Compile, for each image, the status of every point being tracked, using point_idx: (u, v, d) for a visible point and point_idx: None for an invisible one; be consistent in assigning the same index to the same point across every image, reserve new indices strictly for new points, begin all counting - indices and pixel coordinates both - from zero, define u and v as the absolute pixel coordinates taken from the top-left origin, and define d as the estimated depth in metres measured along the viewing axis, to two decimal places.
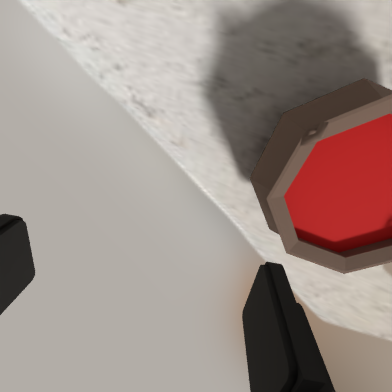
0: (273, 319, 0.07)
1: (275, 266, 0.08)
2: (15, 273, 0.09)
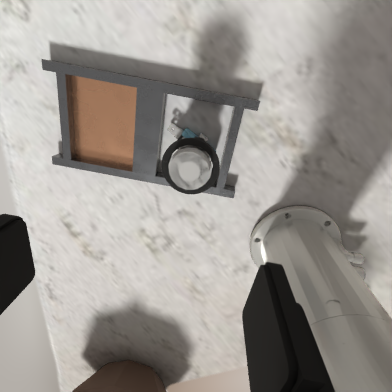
0: (273, 319, 0.07)
1: (275, 266, 0.08)
2: (15, 273, 0.09)
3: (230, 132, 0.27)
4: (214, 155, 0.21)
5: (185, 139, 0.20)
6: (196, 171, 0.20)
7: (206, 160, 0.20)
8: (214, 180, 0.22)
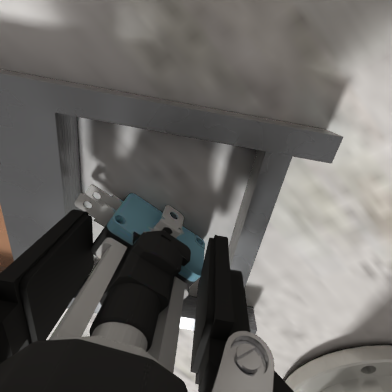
0: (207, 279, 0.08)
1: (220, 238, 0.09)
2: (83, 263, 0.10)
3: (250, 216, 0.10)
4: None
5: None
6: None
7: None
8: None
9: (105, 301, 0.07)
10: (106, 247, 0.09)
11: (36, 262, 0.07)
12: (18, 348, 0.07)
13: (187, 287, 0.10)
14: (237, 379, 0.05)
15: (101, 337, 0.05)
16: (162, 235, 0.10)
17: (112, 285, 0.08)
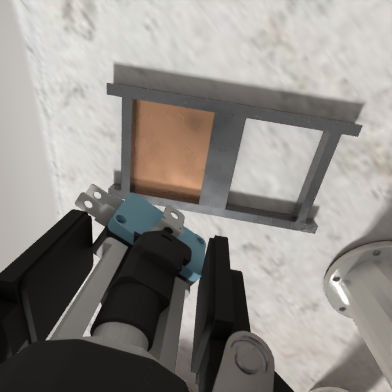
0: (207, 279, 0.08)
1: (220, 238, 0.09)
2: (82, 263, 0.10)
3: (321, 161, 0.23)
4: None
5: None
6: None
7: None
8: None
9: (106, 301, 0.07)
10: (107, 247, 0.09)
11: (36, 262, 0.07)
12: (18, 348, 0.07)
13: (188, 287, 0.10)
14: (237, 379, 0.05)
15: (102, 337, 0.05)
16: (163, 235, 0.10)
17: (113, 285, 0.08)
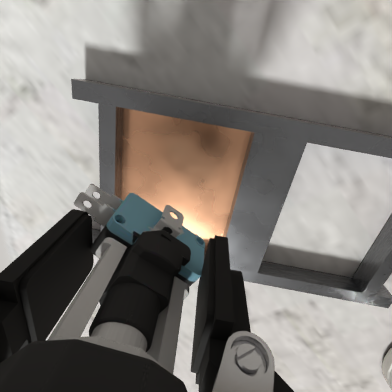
0: (207, 279, 0.08)
1: (220, 238, 0.09)
2: (82, 263, 0.10)
3: None
4: None
5: None
6: None
7: None
8: None
9: (104, 301, 0.07)
10: (106, 247, 0.09)
11: (36, 262, 0.07)
12: (18, 348, 0.07)
13: (187, 287, 0.10)
14: (237, 379, 0.05)
15: (100, 337, 0.05)
16: (162, 235, 0.10)
17: (112, 285, 0.08)
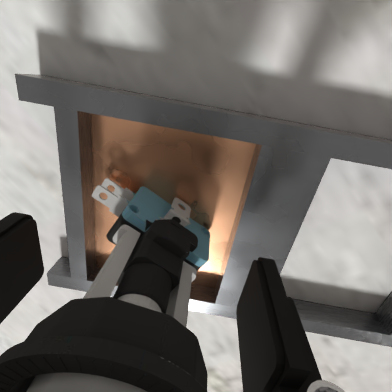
0: (263, 312, 0.07)
1: (267, 261, 0.09)
2: (25, 270, 0.09)
3: None
4: None
5: (53, 352, 0.04)
6: None
7: None
8: None
9: (123, 278, 0.08)
10: (122, 233, 0.10)
11: None
12: None
13: (195, 271, 0.11)
14: None
15: (126, 300, 0.06)
16: (172, 223, 0.11)
17: (129, 265, 0.09)
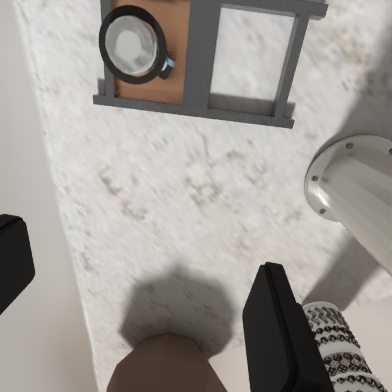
0: (273, 319, 0.07)
1: (275, 266, 0.08)
2: (15, 273, 0.09)
3: (293, 47, 0.25)
4: (157, 26, 0.18)
5: (121, 7, 0.17)
6: (137, 44, 0.18)
7: (147, 30, 0.17)
8: (163, 63, 0.19)
9: None
10: None
11: None
12: None
13: (166, 62, 0.24)
14: None
15: None
16: None
17: None
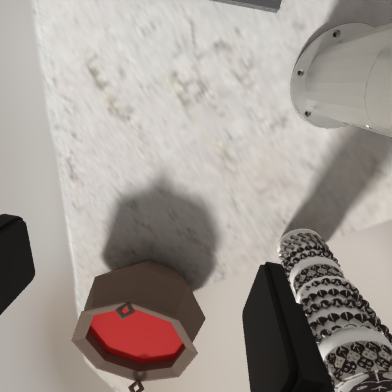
0: (273, 319, 0.07)
1: (275, 266, 0.08)
2: (15, 273, 0.09)
3: None
4: None
5: None
6: None
7: None
8: None
9: None
10: None
11: None
12: None
13: None
14: None
15: None
16: None
17: None
